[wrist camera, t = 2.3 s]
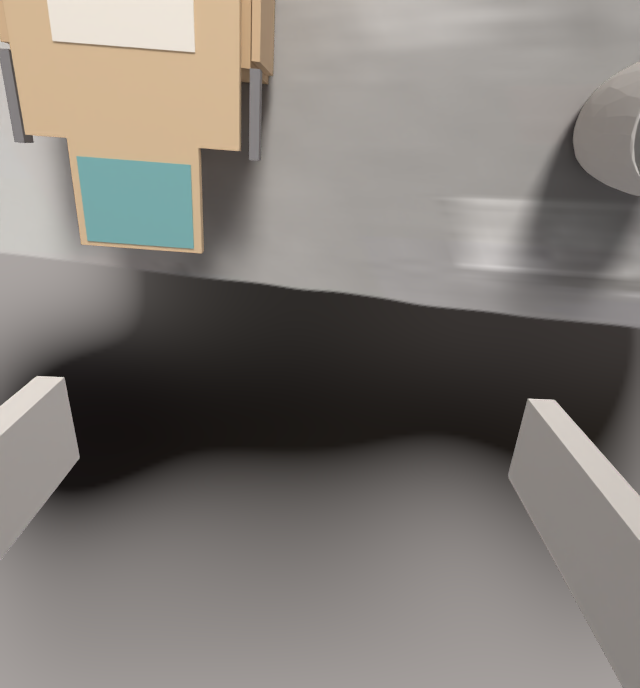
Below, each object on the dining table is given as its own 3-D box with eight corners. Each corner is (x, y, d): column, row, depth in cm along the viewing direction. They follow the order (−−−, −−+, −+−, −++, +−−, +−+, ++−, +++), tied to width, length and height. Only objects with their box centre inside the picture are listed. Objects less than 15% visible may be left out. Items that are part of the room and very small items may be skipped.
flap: (-25, -201, 23) (-35, -211, 22) (241, -179, 23) (239, -187, 22) (48, 239, 32) (42, 242, 31) (240, 254, 32) (238, 256, 31)
